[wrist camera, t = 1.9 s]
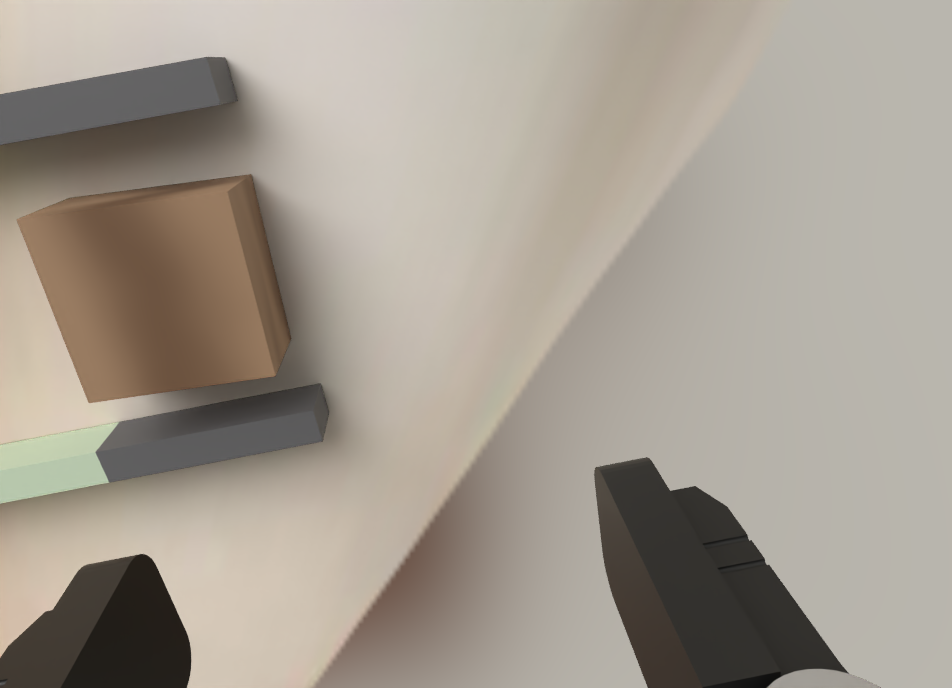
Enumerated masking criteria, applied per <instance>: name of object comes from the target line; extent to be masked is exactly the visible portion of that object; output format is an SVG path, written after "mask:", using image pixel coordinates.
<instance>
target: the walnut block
mask: <svg viewBox="0 0 952 688" xmlns="http://www.w3.org/2000/svg"><path fill="white" fill-rule="evenodd" d="M17 222H18V224H19V227H20V230H21V232H22V235H23V237H24V240H25V242H26V245H27V247H28V250H29V252H30V255H31V258H32V260H33V263H34V265H35V268H36V270H37V273H38V275H39V278H40V280H41V283H42V286H43V288H44V291H45V293H46V296H47V298H48V301H49V303H50V306H51V308H52V311H53V313H54V316H55V319H56V321H57V324H58V326H59V329H60V331H61V334H62V336H63V339H64V341H65V344H66V347H67V349H68V352H69V354H70V357H71V359H72V362H73V364H74V367H75V369H76V372H77V375H78V377H79V380H80V382H81V385H82V387H83V390H84V392H85V395H86V397H87V400H88V402H89V403H93V402H100V401H107V400H114V399H121V398H128V397H135V396H142V395H149V394H155V393H162V392H169V391H176V390H183V389H190V388H197V387H204V386H211V385H218V384H225V383H232V382H239V381H246V380H253V379H260V378H267V377H274V376H276V374H277V372H278V369H279V367H280V364H281V362H282V360H283V357H284V355H285V352H286V350H287V348H288V345H289V343H290V340H291V336H290V332H289V327H288V323H287V319H286V315H285V311H284V307H283V303H282V299H281V295H280V291H279V287H278V282H277V278H276V274H275V270H274V266H273V262H272V258H271V254H270V250H269V246H268V242H267V237H266V233H265V229H264V225H263V221H262V217H261V213H260V209H259V205H258V201H257V197H256V193H255V188H254V184H253V180H252V176H251V174H250V175H242V176H234V177H227V178H219V179H211V180H204V181H196V182H188V183H181V184H173V185H166V186H158V187H150V188H143V189H135V190H127V191H120V192H112V193H104V194H97V195H89V196H81V197H74V198H68V199H66V200H63V201H61V202H58V203H56V204H53V205H51V206H48V207H46V208H43V209H41V210H39V211H36V212H34V213H31V214H29V215H26V216H24V217H21V218H19V219H17Z"/></svg>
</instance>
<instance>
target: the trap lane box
mask: <svg viewBox="0 0 952 688" xmlns="http://www.w3.org/2000/svg"><path fill="white" fill-rule="evenodd" d="M234 101H238V99H237V96H236V92H235V89H234V85H233V82H232V79H231V75H230V72H229V68H228V65H227V61H226V58H223V57H204V58H199V59H193V60H188V61H182V62H177V63H171V64H165V65H160V66H154V67H149V68H143V69H138V70H132V71H127V72H121V73H116V74H110V75H105V76H99V77H94V78H88V79H83V80H77V81H72V82H66V83H60V84H55V85H49V86H44V87H38V88H33V89H27V90H22V91H16V92H11V93H5V94H0V145H2V144H8V143H13V142H19V141H24V140H30V139H35V138H41V137H46V136H52V135H57V134H63V133H68V132H73V131H79V130H84V129H90V128H95V127H101V126H106V125H112V124H117V123H123V122H128V121H134V120H139V119H145V118H150V117H156V116H161V115H167V114H172V113H178V112H183V111H189V110H194V109H200V108H205V107H211V106H216V105H221V104H226V103H230V102H234ZM328 415H329V411H328V407H327V404H326V400H325V397H324V393H323V390H322V387H321V384H316V385H310V386H305V387H300V388H295V389H289V390H284V391H279V392H274V393H269V394H263V395H258V396H253V397H248V398H242V399H237V400H232V401H227V402H221V403H216V404H211V405H206V406H201V407H195V408H190V409H185V410H180V411H174V412H169V413H164V414H159V415H154V416H148V417H143V418H138V419H133V420H127V421H122V422H117V423H112V424H106V425H101V426H96V427H91V428H86V429H80V430H75V431H70V432H65V433H59V434H54V435H49V436H44V437H38V438H33V439H28V440H23V441H18V442H12V443H7V444H2V445H0V504H1V503H6V502H11V501H16V500H21V499H27V498H32V497H37V496H42V495H47V494H52V493H58V492H63V491H68V490H73V489H78V488H84V487H89V486H94V485H99V484H104V483H109V482H115V481H120V480H125V479H130V478H135V477H141V476H146V475H151V474H156V473H161V472H166V471H172V470H177V469H182V468H187V467H192V466H197V465H203V464H208V463H213V462H218V461H223V460H229V459H234V458H239V457H244V456H249V455H254V454H260V453H265V452H270V451H275V450H280V449H286V448H291V447H296V446H301V445H306V444H311V443H317V442H322V441H323V437H324V433H325V428H326V424H327V420H328Z"/></svg>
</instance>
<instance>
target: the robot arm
mask: <svg viewBox="0 0 952 688" xmlns="http://www.w3.org/2000/svg"><path fill="white" fill-rule="evenodd" d="M594 476H595V488H596V497H597V506H598V515H599V524H600V533H601V542H602V551H603V558H604V563H605V568H606V573H607V577H608V581H609V585H610V588H611V592H612V595H613V598H614V601H615V603H616V606H617V609H618V611H619V614H620V616H621V619H622V622H623V624H624V627H625V629H626V632H627V635H628V637H629V640H630V642H631V645H632V648H633V650H634V653H635V655H636V658H637V660H638V663H639V666H640V668H641V671H642V674H643V676H644V679H645V681H646V684H647V687H648V688H881V687H879V686H877V685H875V684H873V683H871V682H869V681H867V680H864V679H862V678H860V677H857V676H854V675H851V674H849V673H848V672H847V671H846V670H845V669H844V667H843V666H842V665H841V664H840V662H839V661H838V660H837V658H836V657H835V656H834V654H833V653H832V651H831V650H830V649H829V647H828V646H827V645H826V643H825V642H824V641H823V639H822V638H821V636H820V635H819V633H818V632H817V631H816V629H815V628H814V627H813V625H812V624H811V622H810V621H809V620H808V618H807V617H806V615H805V614H804V613H803V611H802V610H801V608H800V607H799V606H798V604H797V603H796V601H795V600H794V599H793V597H792V596H791V595H790V593H789V592H788V590H787V589H786V588H785V586H784V585H783V583H782V582H781V581H780V579H779V578H778V577H777V575H776V574H775V572H774V571H773V570H772V568H771V567H770V565H766V563H765V559H764V557H763V556H762V554H761V553H760V552H759V550H758V549H757V547H756V546H755V545H754V543H753V542H752V540H751V541H749V539H748V536H747V534H746V532H745V531H744V529H743V528H742V527H741V525H740V524H739V522H738V521H737V520H736V519H735V517H734V516H733V514H732V513H731V511H730V510H729V509H728V507H727V506H725V505H724V504H722V503H720V502H719V501H717V500H716V499H714V498H713V497H711V496H710V495H708V494H707V493H705V492H703V491H702V490H700V489H699V488H697V487H696V486H694V487H689V488H684V489H678V490H673V491H670V490H669V488H668V487H667V485H666V484H665V482H664V480H663V479H662V477H661V475H660V474H659V472H658V471H657V469H656V467H655V466H654V464H653V463H652V461H651V460H650V459H649V458H642V459H636V460H631V461H626V462H621V463H615V464H610V465H605V466H600V467H596V468H595V474H594ZM190 671H191V648H190V642H189V639H188V635H187V633H186V630H185V628H184V626H183V624H182V622H181V619H180V617H179V615H178V613H177V611H176V608H175V606H174V604H173V602H172V600H171V597H170V595H169V593H168V591H167V588H166V586H165V584H164V582H163V580H162V577H161V575H160V573H159V571H158V569H157V567H156V565H155V563H154V561H153V560H152V559H151V558H150V557H149V556H147V555H145V554H140V555H135V556H129V557H124V558H119V559H114V560H109V561H104V562H98V563H93V564H88V565H85V566H84V567H82V568H81V569H80V570H79V571H78V572H77V574H76V575H75V576H74V578H73V580H72V581H71V583H70V584H69V586H68V587H67V589H66V590H65V592H64V593H63V595H62V597H61V598H60V600H59V601H58V603H57V604H56V606H55V607H54V609H53V610H51V611H46V612H45V613H44V614H43V615H41V616H40V617H39V618H38V619H37V620H36V621H35V622H34V623H33V624H32V625H31V626H30V627H29V628H27V629H26V630H25V631H24V632H23V633H22V634H21V635H20V636H19V637H18V638H17V639H16V640H15V641H13V642H12V643H11V644H10V645H9V646H8V648H7V649H6V650H5V652H4V653H3V655H2V656H1V658H0V688H187V685H188V681H189V677H190Z"/></svg>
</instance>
